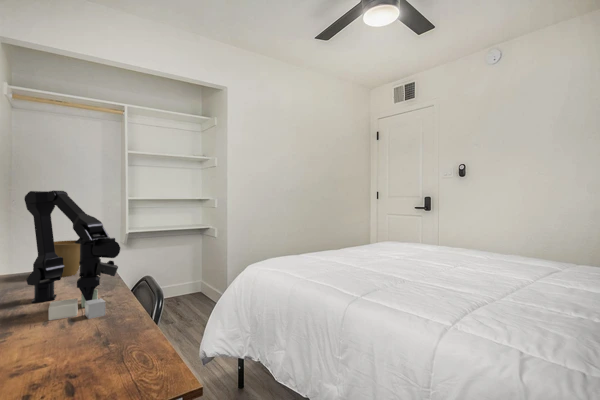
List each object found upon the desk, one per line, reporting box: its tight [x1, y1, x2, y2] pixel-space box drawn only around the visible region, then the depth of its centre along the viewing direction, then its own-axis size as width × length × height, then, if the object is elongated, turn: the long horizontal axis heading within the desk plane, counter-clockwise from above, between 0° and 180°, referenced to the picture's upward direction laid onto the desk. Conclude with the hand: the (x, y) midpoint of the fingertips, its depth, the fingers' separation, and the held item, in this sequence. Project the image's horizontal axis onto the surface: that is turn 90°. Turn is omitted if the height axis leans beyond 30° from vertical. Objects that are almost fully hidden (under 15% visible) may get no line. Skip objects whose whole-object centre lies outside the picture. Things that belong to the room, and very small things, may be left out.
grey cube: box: [84, 297, 106, 320], centre depth 102 cm, size 4×4×4 cm
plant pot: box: [54, 239, 80, 278], centre depth 155 cm, size 15×15×16 cm
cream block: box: [48, 297, 79, 321], centre depth 102 cm, size 7×7×4 cm
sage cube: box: [80, 288, 99, 309], centre depth 112 cm, size 4×4×4 cm
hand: (89, 301), depth 112 cm, fingers closed on sage cube, 4 cm apart
